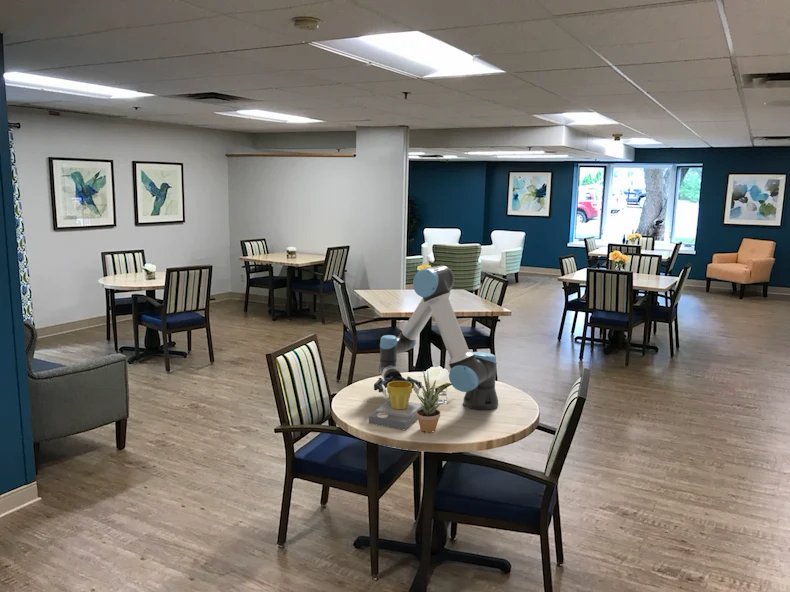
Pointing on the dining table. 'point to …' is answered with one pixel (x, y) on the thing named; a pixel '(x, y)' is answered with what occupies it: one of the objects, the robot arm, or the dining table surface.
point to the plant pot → (399, 394)
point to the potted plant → (428, 408)
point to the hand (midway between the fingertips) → (401, 392)
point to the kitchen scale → (395, 415)
